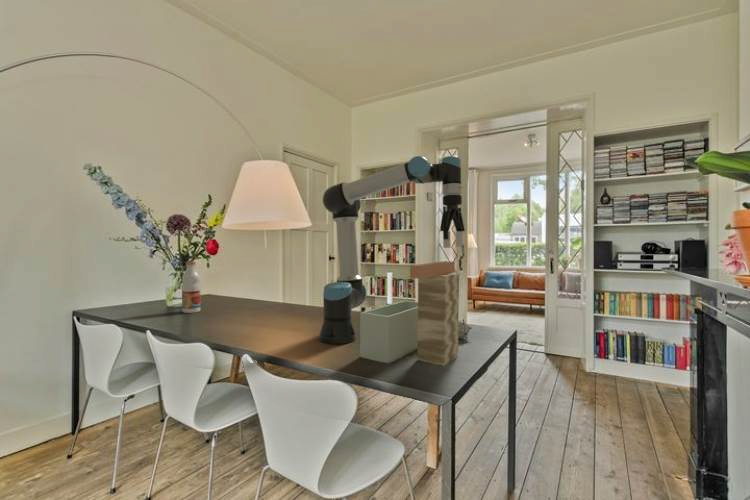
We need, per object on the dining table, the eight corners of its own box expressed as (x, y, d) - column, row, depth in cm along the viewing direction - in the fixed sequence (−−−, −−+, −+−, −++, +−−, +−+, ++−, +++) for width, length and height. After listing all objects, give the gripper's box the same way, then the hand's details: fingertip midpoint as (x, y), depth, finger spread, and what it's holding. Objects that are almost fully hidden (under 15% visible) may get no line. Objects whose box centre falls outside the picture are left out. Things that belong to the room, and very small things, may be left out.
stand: (443, 365, 121) (445, 276, 120) (417, 359, 127) (418, 274, 126) (457, 356, 131) (459, 273, 130) (432, 351, 137) (433, 271, 136)
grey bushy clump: (464, 348, 153) (472, 333, 147) (444, 340, 154) (452, 324, 148) (467, 333, 160) (475, 318, 154) (449, 325, 161) (456, 310, 155)
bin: (388, 363, 123) (388, 316, 122) (360, 356, 130) (360, 312, 129) (429, 342, 148) (430, 303, 147) (404, 337, 155) (404, 300, 154)
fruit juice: (187, 309, 210) (186, 261, 209) (203, 309, 211) (203, 261, 210) (178, 313, 201) (178, 262, 200) (196, 313, 201) (195, 263, 200)
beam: (421, 278, 113) (421, 265, 113) (410, 277, 115) (410, 265, 115) (454, 272, 134) (454, 261, 134) (444, 271, 136) (444, 261, 136)
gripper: (449, 191, 135) (450, 248, 136) (471, 197, 156) (472, 246, 156) (430, 193, 139) (432, 248, 140) (454, 198, 160) (455, 246, 161)
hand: (453, 247), depth 148 cm, fingers open, 13 cm apart
